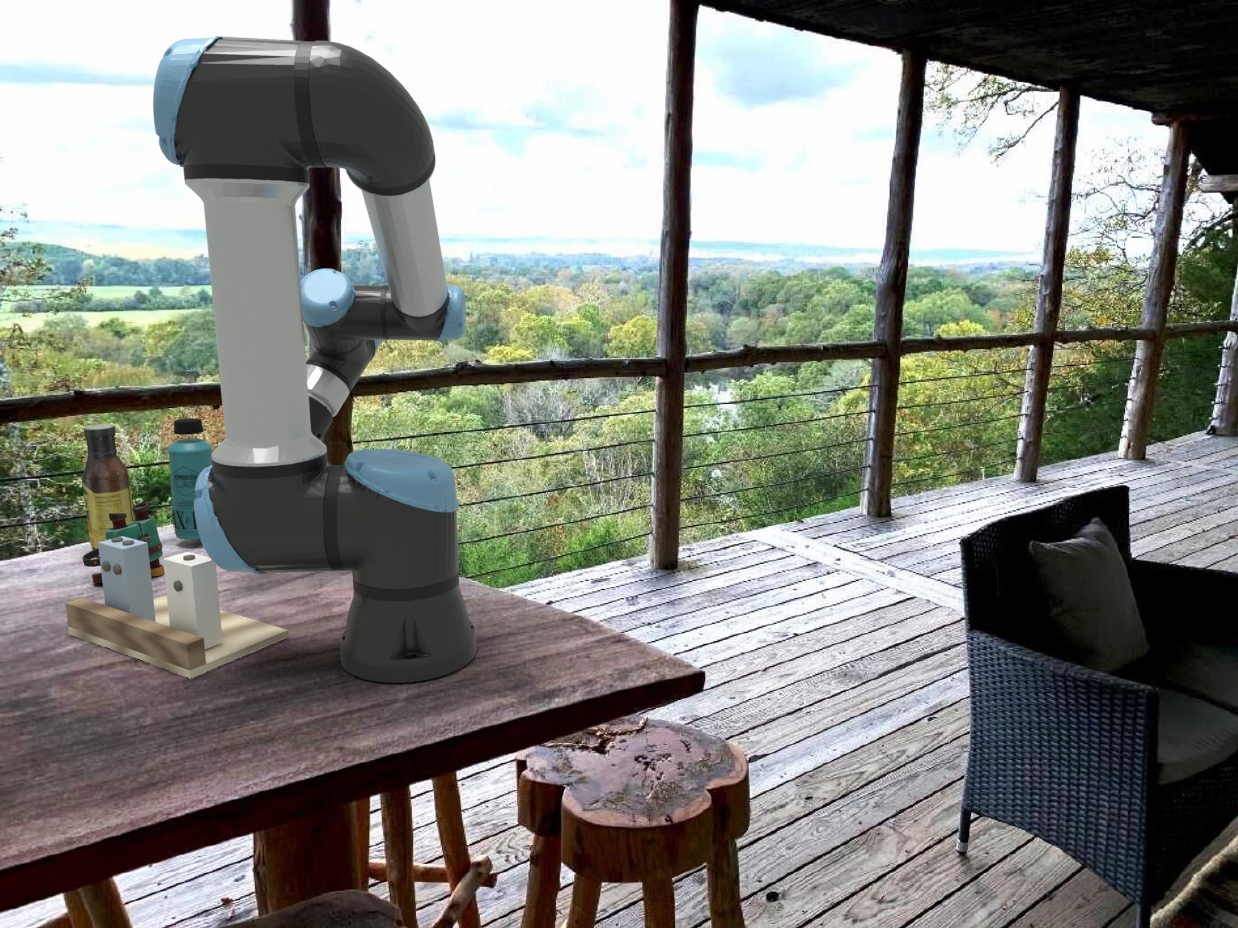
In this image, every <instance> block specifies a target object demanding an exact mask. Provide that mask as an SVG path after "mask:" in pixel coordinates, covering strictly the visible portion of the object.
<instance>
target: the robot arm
mask: <svg viewBox="0 0 1238 928" xmlns="http://www.w3.org/2000/svg"><path fill="white" fill-rule="evenodd" d="M152 95H153V97H152V109H153V110H152V111H153V115H152V116H153V123H154V129H155V134H156V135H157V136H158V145H159V148H160V151H161V153H162V154H163V155H164V157H165V159H167V161H168V162H170V163H172V164H173V165H175V166H179V167H180V168H183V178H184V179H183V180H184V184H185V185H186V186H187V187H188V188H189V189H190V190H191V191H192V192H193V193H195V195H196V196H198V197H199V198H200V200H201V202H203V211H204V221H205V222H204V223H205V234H206V241H207V243H206V244H207V251H208V253H207V255H208V263H209V264H208V265H209V273H210V274H209V276H210V284H211V296H212V297H211V298H212V307H213V319H214V328H215V337H216V340H215V341H216V351H217V360H218V370H219V372H218V373H219V380H220V394H221V401H222V402H221V405H222V414H223V424H224V433H225V434H224V439H223V441H222V442H221V443H220V444H218V446H217V447H216V448H215V449H214V450H212V455H211V456H212V465H211V466H209V467H207V468H205V469H204V470H203V471H202V472H201V473H200V474H199V476H198V479H197V482H196V486H195V494H196V500H195V501H194V511H195V519H196V524H197V529H198V532H199V536H200V539H199V540H200V542H201V544H202V547H203V548H204V550H205V552H206V554H207V557H209V558H211V560H212V561H214V562H215V563H216V566H218V567H219V569H222V570H225V571H227V572H232V573H254V574H257V575H265V574H269V573H270V574H272V573H302V572H303V573H304V572H305V573H306V572H337V571H339V572H340V571H341V572H342V571H350V572H351V575H352V585H353V586H352V589H353V591H352V592H353V593H352V600H351V603H350V607H349V611H348V614H347V617H346V624H345V630H344V631H343V633H342V635H341V638H340V641H339V652H340V664H341V666H342V668H343V669H344V670H345V671H346V672H347V673H348V674H350V675H352V676H354V677H356V678H360V679H363V680H366V681H370V682H371V681H372V682H379V683H385V684H386V683H391V684H392V683H394V684H400V683H401V684H402V683H404V684H405V683H414V682H415V683H416V682H421V681H427V680H432V679H436V678H439V677H443V676H447V675H449V674H452V673H454V672H456V671H458V670H461V669H462V668H464V667H465V666H467V665H468V664H469V663H471V661H472V660H473V659H474V657H476V654H477V631H476V629H475V626H474V624H473V622H472V621H471V620H470V617H469V614H468V610H467V607H466V603H465V600H464V596H463V595H462V591H461V588H460V575H459V574H460V573H459V571H460V568H459V566H460V564H459V561H460V560H459V542H458V541H459V540H458V513H457V512H458V510H459V508H460V507H459V505H460V502H459V500H458V498H457V497H458V496H457V485H456V476H455V473H454V470H453V469H452V467H451V466H450V465H449V464H448V463H447V462H446V461H444V460H442V459H440V458H438V457H435V456H432V455H429V454H425V453H421V452H417V451H412V450H411V451H410V450H405V449H404V450H403V449H394V448H376V449H371V448H369V449H359V450H355V451H352V452H350V453H349V454H348V455H347V457H346V460H344V464H330V463H329V461H328V460H329V459H328V449H327V445H326V444H325V443H323V442H322V441H321V440H322V439H323V438H324V436H325V434H326V433H327V431H328V430H329V428H330V426H331V425H332V423H333V420H334V417H336V416H337V415H338V413H339V411H340V410H341V408H342V406H343V404H344V403H345V402H346V401H347V398H348V397H349V395H350V394H351V392H352V391H353V388H354V387H355V385H356V384H357V382H358V381H359V379H360V378H361V376H362V374H363V373H364V371H365V370H366V368H367V367H368V366H369V363H370V362H371V361H372V360H373V359H374V358H375V356H376V354H377V351H378V349H379V347H380V345H381V342H382V341H434V342H439V341H450V340H453V341H454V340H459V339H461V338H462V337H464V335H465V333H466V323H467V322H466V317H467V316H466V315H467V314H466V299H465V291H464V290H463V288H462V287H461V286H458V285H456V286H455V285H450V284H447V279H446V272H445V266H444V262H443V253H442V249H441V242H440V236H439V230H438V229H439V228H438V223H437V217H436V212H435V211H436V210H435V205H434V199H433V192H432V185H431V181H430V179H431V178H432V176H433V174H434V172H435V168H436V164H437V163H436V153H435V146H434V140H433V136H432V132H431V129H430V126H429V124H428V122H427V119H426V117H425V115H424V114H423V111H422V110H421V108H420V106H419V105H418V104H417V102H416V100H415V99H414V98H413V97H412V95H411V93H410V92H409V91H408V90H407V89H406V87H405V86H404V85H403V84H402V83H401V82H400V81H399V80H398V79H397V78H396V77H395V75H393V74H392V72H391V71H389V69H387V68H385V66H383V65H382V64H380V63H379V62H378V61H377V60H375V59H374V58H373V57H371V56H369V55H368V54H366V53H364V52H363V51H360V50H359V49H357V48H354V47H352V46H350V45H346V44H343V43H340V42H335V41H329V40H315V41H306V40H305V41H304V40H292V39H291V40H290V39H277V38H276V39H275V38H273V39H272V38H256V37H239V36H237V37H235V36H222V35H216V36H214V37H200V38H184V39H183V38H182V39H179V40H177V41H175V42H174V43H172V44H171V45H170V46H169V47H168V48H167V49H166V50H165V51H164V53H163V56H162V58H161V60H159V64H158V67H157V69H156V74H155V78H154V84H153V94H152ZM310 168H319V169H320V168H326V169H328V168H337V169H343V170H345V172H346V174H347V177H348V179H349V180H350V181H351V182H352V184H353V185H355V187H356V188H357V189H359V190H361V193H362V197H363V201H364V204H365V207H366V211H367V216H368V218H369V222H370V227H371V229H372V232H373V233H372V234H373V237H374V240H375V243H376V247H377V251H378V255H379V258H380V263H381V265H382V268H383V269H382V270H383V274H384V277H385V280H386V283H387V284H384V285H383V284H353V283H352V281H351V280H350V279H349V277H348V276H347V275H346V274H345V273H344V272H340V271H338V270H335V269H333V268H320V269H315V270H313V271H311V272H309V273H308V274H305V276H304V277H303V278H301V272H300V271H301V270H300V268H301V267H300V255H299V240H298V225H297V213H296V210H297V209H296V204H297V202H298V200H299V199H300V198H301V197H302V196H303V195H304V194H305V193H306V192H307V191H308V190H309V189H310V174H309V171H310ZM304 327H305V328H306V330H307V332H308V336H309V337H310V341H311V343H312V346H313V350H312V351H311V353H310V355H309V356H308V358H307V357H306V356H307V355H306V340H305V330H304V329H305V328H304Z"/></svg>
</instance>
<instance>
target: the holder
mask: <svg viewBox="0 0 1238 928" xmlns="http://www.w3.org/2000/svg"><path fill="white" fill-rule="evenodd" d="M153 600H154V609H155V619H156V622H154V621H151V620H148V619H145V618H142V617H139V616H136V615H133V614H130V613H127V612H124V611H121V610H118V609H115V608H112V607H109V606H106V605H105V604H104V603H99V602H96V601H93V600H90V599H87V598H84V597H80V598H77V599H73V600H70V601H66V602H65V610H66V612H65V613H66V618H67V626H68V628H67V629H68V634H69V635H70V636H73V637H76V638H79V639H81V640H84V641H86V642H89V643H92V644H94V643H95V645H97V646H99V645H100V646H99V647H102V648H105V647H108V648H110V649H113V650H115V651H114V652H116V651H117V652H116V653H118V652H120V653H119V654H121V653H122V655H124V654H125V655H124V656H126V655H128V656H127V657H129V656H132V657H135V658H137V659H140V660H143V661H145V662H149V663H151V664H153V665H156V666H160V667H162V668H165V669H166V670H165V671H167V670H169V671H171V672H170V673H172V672H174V673H173V674H175V673H177V674H178V676H180V675H182V676H181V677H183V676H185V677H184V678H186V677H188V678H189V680H192V679H194V677H195V678H196V676H197V677H199V676H202V675H204V674H206V672H207V671H209V670H211V671H213V670H212V669H214V668H216V667H217V666H221V665H223V664H225V663H226V662H229V661H231V660H234V659H236V658H238V657H240V656H244V655H246V654H248V653H251V652H252V651H255V650H257V649H259V648H261V647H266V648H268V647H267V646H269V645H271V644H274V643H276V642H278V641H281V640H283V639H286V638H288V639H289V638H290V635H289V634H290V633H289V629H286V628H284V627H283V628H282V627H278V626H275V625H273V624H270V623H269V624H268V623H266V622H262V621H259V620H257V619H252V618H249V617H245V616H243V615H239V614H236V613H233V612H229V611H226V610H224V609H220V617H221V628H222V640H223V643H220V644H218V645H215V646H213V647H210V648H208V649H205V646H204V638H202V637H199V636H196V635H193V634H190V633H187V632H184V631H181V630H178V629H175V628H172V627H170V622H169V612H168V602H167V594H164V595H161V596H158V597H155V598H153ZM286 640H287V639H286ZM283 641H284V640H283ZM281 642H282V641H281ZM278 643H279V642H278ZM276 644H277V643H276ZM274 645H275V644H274ZM271 646H272V645H271ZM269 647H270V646H269ZM110 649H109V650H110ZM113 650H112V651H113ZM132 657H131V658H132ZM137 659H136V660H137ZM140 660H139V661H140ZM145 662H144V663H145ZM151 664H150V665H151ZM153 665H152V666H153ZM156 666H155V667H156ZM223 666H224V665H223ZM221 667H222V666H221ZM216 669H217V668H216ZM214 670H215V669H214ZM169 671H168V672H169ZM209 672H210V671H209ZM207 673H208V672H207ZM177 674H176V675H177ZM198 675H199V676H198ZM188 678H187V679H188ZM191 678H192V679H191Z"/></svg>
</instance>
